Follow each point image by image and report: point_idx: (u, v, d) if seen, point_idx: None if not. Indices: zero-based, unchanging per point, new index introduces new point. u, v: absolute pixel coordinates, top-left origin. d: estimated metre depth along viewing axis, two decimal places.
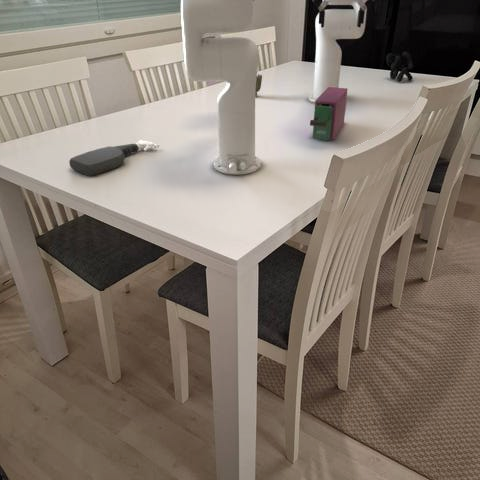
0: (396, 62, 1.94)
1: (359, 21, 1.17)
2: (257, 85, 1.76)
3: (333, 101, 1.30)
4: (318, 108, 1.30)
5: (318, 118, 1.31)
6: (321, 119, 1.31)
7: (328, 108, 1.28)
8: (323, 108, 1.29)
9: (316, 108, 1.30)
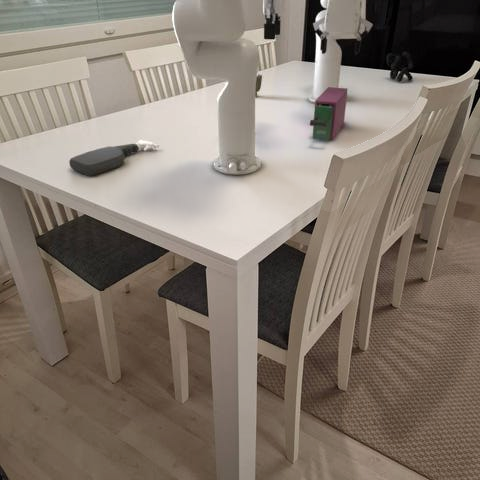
0: (396, 62, 1.94)
1: (354, 50, 1.32)
2: (257, 85, 1.76)
3: (333, 101, 1.30)
4: (318, 108, 1.30)
5: (318, 118, 1.31)
6: (321, 119, 1.31)
7: (328, 108, 1.28)
8: (323, 108, 1.29)
9: (316, 108, 1.30)
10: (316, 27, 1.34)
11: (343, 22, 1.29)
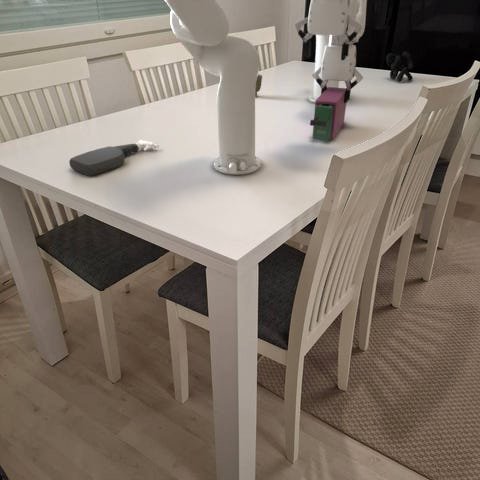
0: (396, 62, 1.94)
1: (345, 98, 1.40)
2: (257, 85, 1.76)
3: (333, 101, 1.30)
4: (318, 108, 1.30)
5: (318, 118, 1.31)
6: (321, 119, 1.31)
7: (328, 108, 1.28)
8: (323, 108, 1.29)
9: (316, 108, 1.30)
10: (316, 77, 1.41)
11: (338, 71, 1.36)
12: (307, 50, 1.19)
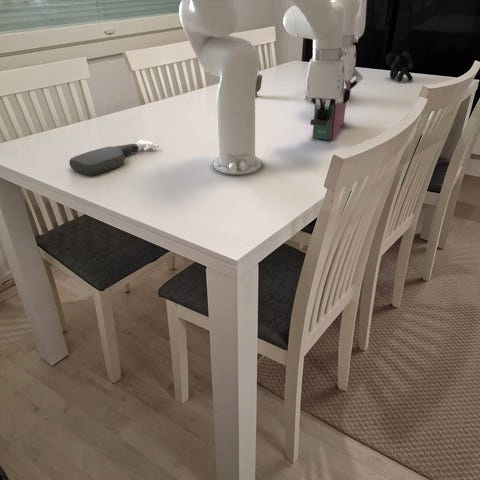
0: (396, 62, 1.94)
1: (344, 98, 1.40)
2: (257, 85, 1.76)
3: None
4: None
5: None
6: None
7: (329, 108, 1.29)
8: None
9: None
10: None
11: None
12: (320, 116, 1.27)
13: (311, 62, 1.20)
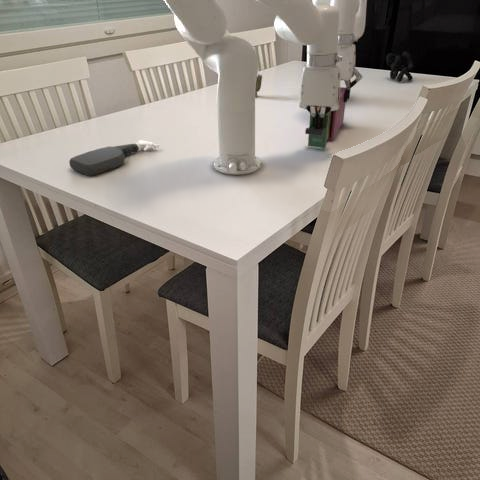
0: (396, 62, 1.94)
1: (344, 97, 1.40)
2: (257, 85, 1.76)
3: None
4: None
5: None
6: None
7: None
8: None
9: None
10: None
11: None
12: (315, 124, 1.22)
13: (305, 68, 1.14)
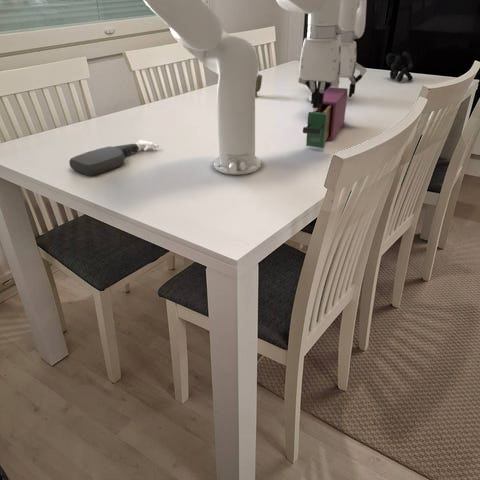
0: (396, 62, 1.94)
1: (349, 92, 1.39)
2: (257, 85, 1.76)
3: (333, 101, 1.30)
4: (312, 115, 1.24)
5: (312, 125, 1.26)
6: (315, 126, 1.25)
7: (322, 115, 1.23)
8: (317, 115, 1.24)
9: (309, 115, 1.24)
10: None
11: None
12: (315, 100, 1.19)
13: (305, 40, 1.11)
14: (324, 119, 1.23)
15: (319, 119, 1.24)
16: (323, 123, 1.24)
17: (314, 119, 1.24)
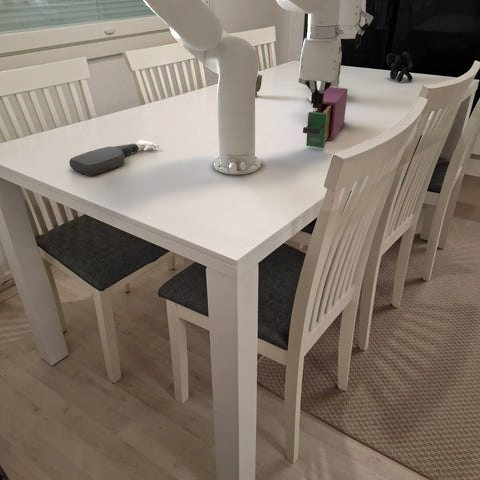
0: (396, 62, 1.94)
1: (355, 43, 1.31)
2: (257, 85, 1.76)
3: (333, 101, 1.30)
4: (312, 115, 1.24)
5: (312, 125, 1.26)
6: (315, 126, 1.25)
7: (322, 115, 1.23)
8: (317, 115, 1.24)
9: (310, 115, 1.24)
10: None
11: (344, 15, 1.28)
12: (315, 100, 1.19)
13: (305, 40, 1.11)
14: (324, 119, 1.23)
15: (319, 119, 1.24)
16: (323, 123, 1.24)
17: (314, 119, 1.24)
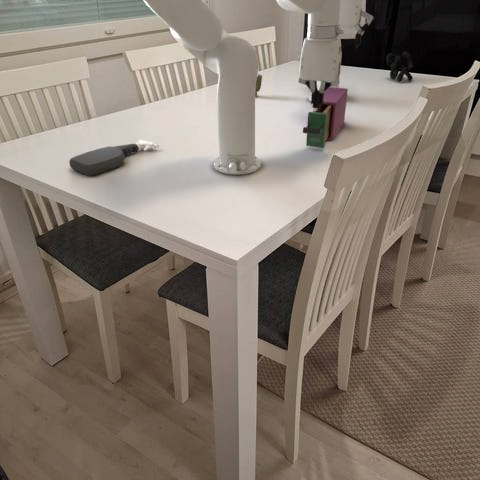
0: (396, 62, 1.94)
1: (355, 43, 1.31)
2: (257, 85, 1.76)
3: (333, 101, 1.30)
4: (312, 115, 1.24)
5: (312, 125, 1.26)
6: (315, 126, 1.25)
7: (322, 115, 1.23)
8: (317, 115, 1.24)
9: (309, 115, 1.24)
10: None
11: (344, 15, 1.28)
12: (315, 100, 1.19)
13: (305, 40, 1.11)
14: (324, 119, 1.23)
15: (319, 119, 1.24)
16: (323, 123, 1.24)
17: (314, 119, 1.24)
